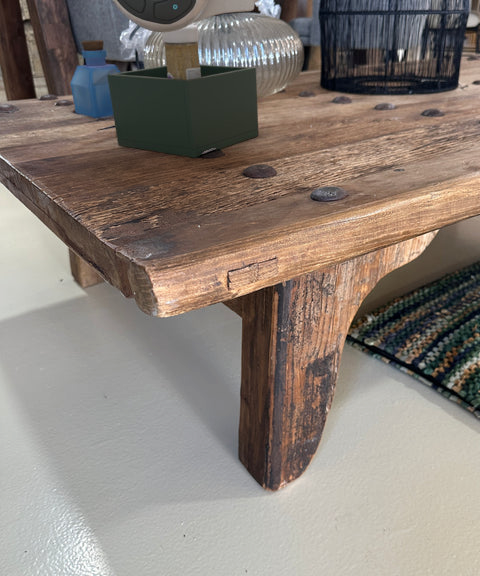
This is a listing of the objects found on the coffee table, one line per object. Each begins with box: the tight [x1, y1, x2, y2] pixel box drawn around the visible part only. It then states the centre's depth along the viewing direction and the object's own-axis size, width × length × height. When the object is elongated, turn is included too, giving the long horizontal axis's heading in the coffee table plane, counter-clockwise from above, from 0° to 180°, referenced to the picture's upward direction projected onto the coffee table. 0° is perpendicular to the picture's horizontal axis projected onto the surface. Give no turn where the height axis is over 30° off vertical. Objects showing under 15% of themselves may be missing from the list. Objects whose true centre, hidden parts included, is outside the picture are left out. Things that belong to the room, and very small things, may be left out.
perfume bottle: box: [69, 39, 122, 132], centre depth 86 cm, size 6×6×12 cm
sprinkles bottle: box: [161, 24, 201, 80], centre depth 75 cm, size 5×5×14 cm
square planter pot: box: [107, 64, 260, 159], centre depth 76 cm, size 14×14×9 cm
